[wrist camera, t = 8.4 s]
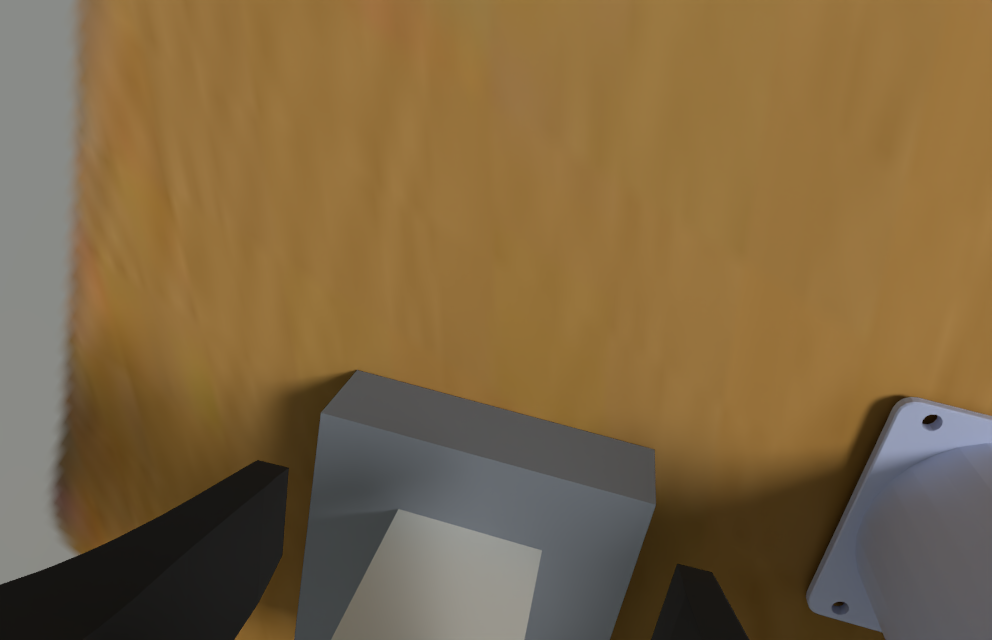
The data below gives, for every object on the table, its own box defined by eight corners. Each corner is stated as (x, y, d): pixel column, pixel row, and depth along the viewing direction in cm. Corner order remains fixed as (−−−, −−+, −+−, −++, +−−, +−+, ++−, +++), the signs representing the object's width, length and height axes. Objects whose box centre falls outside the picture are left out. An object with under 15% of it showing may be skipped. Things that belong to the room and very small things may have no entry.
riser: (654, 449, 24) (655, 504, 21) (580, 674, 27) (573, 746, 25) (357, 370, 25) (320, 412, 22) (326, 598, 28) (292, 658, 26)
